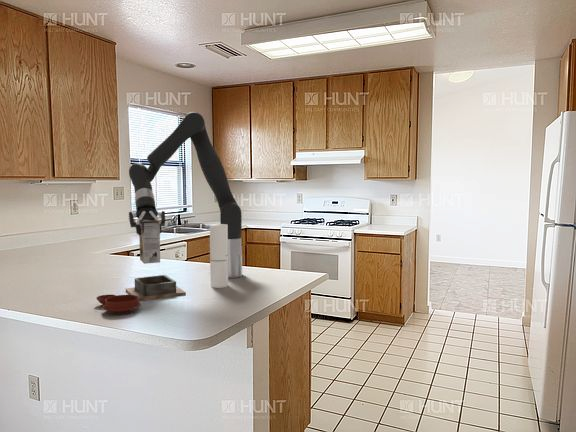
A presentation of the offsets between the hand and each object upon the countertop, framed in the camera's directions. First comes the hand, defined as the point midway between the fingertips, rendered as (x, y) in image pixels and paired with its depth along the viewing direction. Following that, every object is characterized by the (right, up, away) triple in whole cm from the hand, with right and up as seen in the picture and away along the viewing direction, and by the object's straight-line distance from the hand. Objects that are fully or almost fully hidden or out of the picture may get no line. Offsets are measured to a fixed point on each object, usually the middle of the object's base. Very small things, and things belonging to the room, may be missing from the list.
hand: (149, 233), depth 166 cm
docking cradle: (+3, -23, -2) cm, 23 cm away
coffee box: (0, -11, +1) cm, 11 cm away
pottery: (-4, -24, -23) cm, 34 cm away
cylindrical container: (+25, -22, +10) cm, 35 cm away
